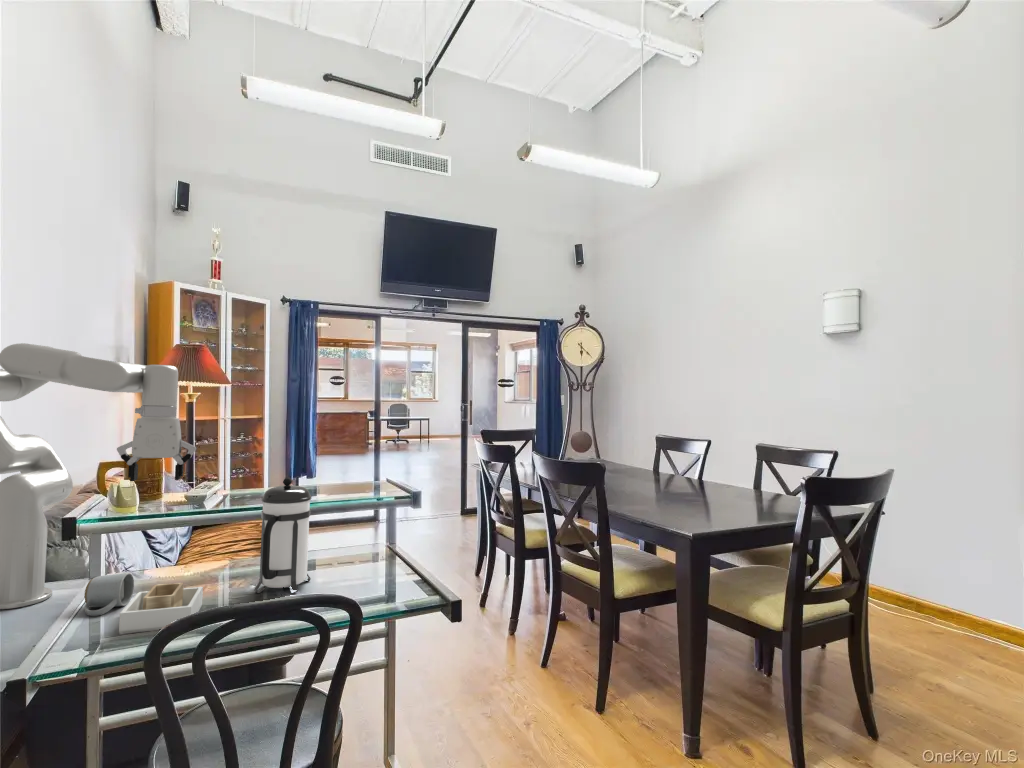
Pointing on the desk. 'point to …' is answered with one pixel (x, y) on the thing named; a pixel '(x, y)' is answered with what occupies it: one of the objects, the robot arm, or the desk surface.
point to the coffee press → (284, 536)
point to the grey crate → (157, 612)
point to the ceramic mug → (108, 592)
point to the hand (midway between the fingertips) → (156, 480)
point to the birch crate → (164, 596)
